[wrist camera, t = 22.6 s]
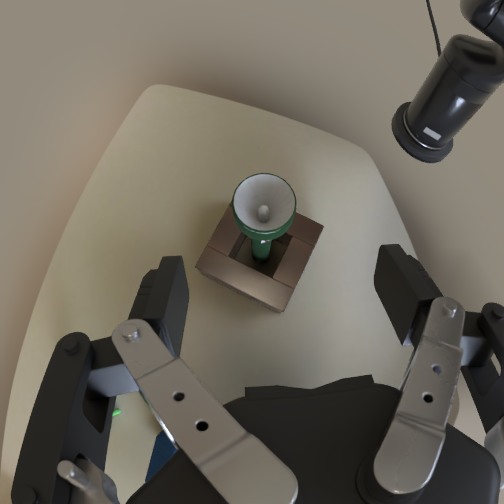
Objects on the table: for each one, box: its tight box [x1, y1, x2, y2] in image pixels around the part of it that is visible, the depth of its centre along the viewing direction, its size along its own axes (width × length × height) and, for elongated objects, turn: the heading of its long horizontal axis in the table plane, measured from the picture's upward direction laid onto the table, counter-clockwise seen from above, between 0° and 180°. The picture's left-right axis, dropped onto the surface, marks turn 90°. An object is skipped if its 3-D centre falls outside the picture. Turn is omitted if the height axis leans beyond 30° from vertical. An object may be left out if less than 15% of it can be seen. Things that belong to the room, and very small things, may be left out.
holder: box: [195, 201, 324, 313], centre depth 42 cm, size 12×12×5 cm
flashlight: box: [232, 173, 296, 263], centre depth 35 cm, size 5×5×20 cm
